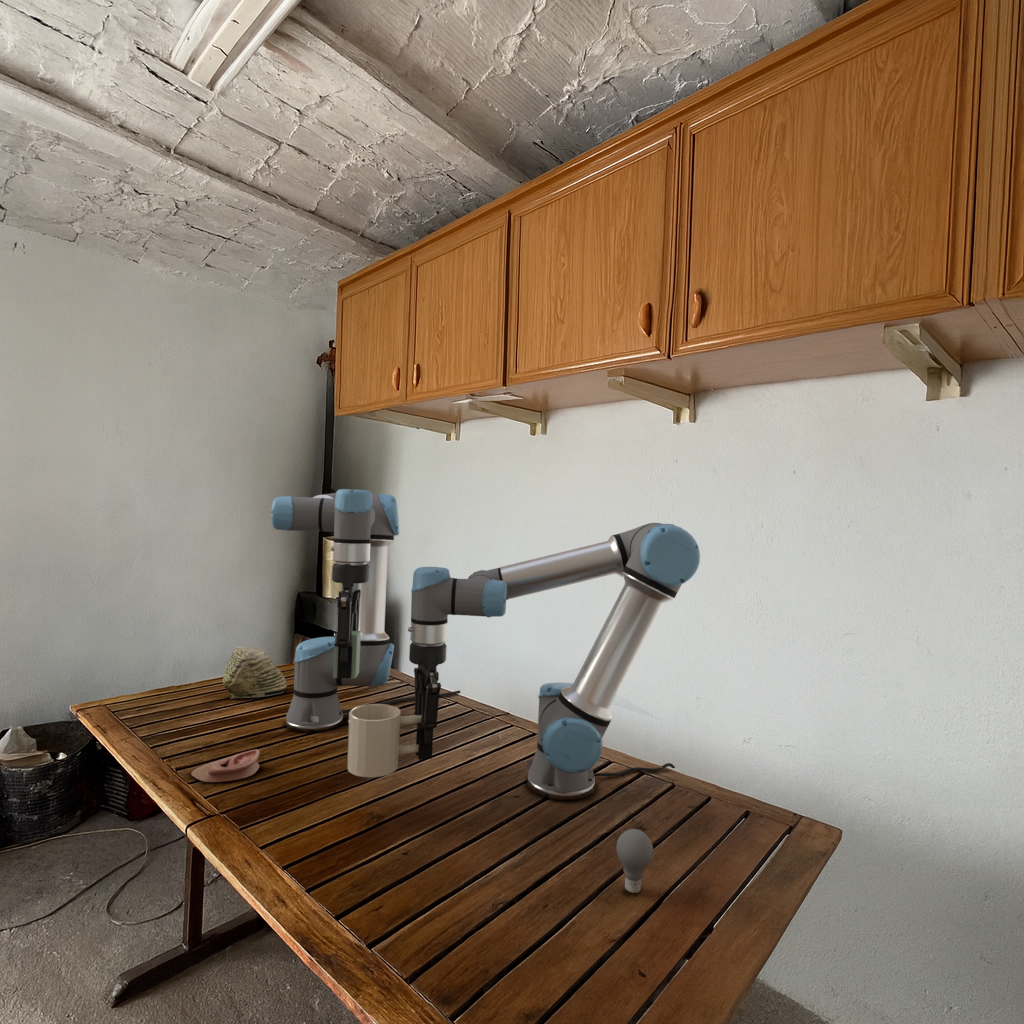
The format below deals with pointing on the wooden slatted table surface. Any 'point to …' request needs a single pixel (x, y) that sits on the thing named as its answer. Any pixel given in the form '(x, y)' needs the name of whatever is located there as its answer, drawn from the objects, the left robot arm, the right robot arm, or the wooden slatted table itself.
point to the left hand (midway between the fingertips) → (346, 674)
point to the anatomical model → (229, 768)
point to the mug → (376, 739)
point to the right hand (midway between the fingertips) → (423, 756)
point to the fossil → (252, 674)
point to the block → (355, 654)
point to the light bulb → (634, 857)
